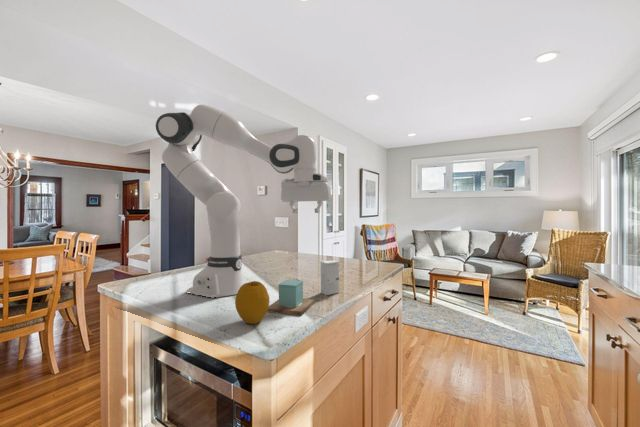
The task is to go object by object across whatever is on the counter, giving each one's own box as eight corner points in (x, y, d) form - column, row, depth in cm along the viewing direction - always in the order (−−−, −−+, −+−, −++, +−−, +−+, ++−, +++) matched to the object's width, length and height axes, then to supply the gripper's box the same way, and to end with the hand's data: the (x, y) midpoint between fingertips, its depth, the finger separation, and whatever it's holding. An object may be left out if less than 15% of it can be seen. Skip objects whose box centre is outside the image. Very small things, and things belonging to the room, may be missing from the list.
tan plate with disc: (266, 311, 91) (266, 298, 90) (282, 300, 102) (282, 288, 102) (301, 315, 87) (301, 301, 87) (314, 303, 98) (314, 290, 98)
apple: (245, 314, 89) (245, 276, 89) (275, 316, 87) (274, 277, 86) (228, 327, 79) (228, 284, 79) (261, 329, 77) (261, 286, 77)
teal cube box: (278, 305, 93) (278, 284, 92) (286, 299, 98) (286, 279, 98) (296, 307, 91) (295, 285, 91) (302, 301, 97) (302, 281, 96)
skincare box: (326, 295, 107) (326, 263, 106) (320, 292, 110) (319, 261, 110) (339, 292, 110) (339, 261, 110) (332, 290, 114) (332, 259, 114)
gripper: (277, 178, 113) (278, 213, 113) (327, 175, 106) (328, 212, 107) (284, 179, 119) (285, 213, 119) (332, 177, 112) (332, 212, 113)
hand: (305, 213), depth 113 cm, fingers open, 8 cm apart
